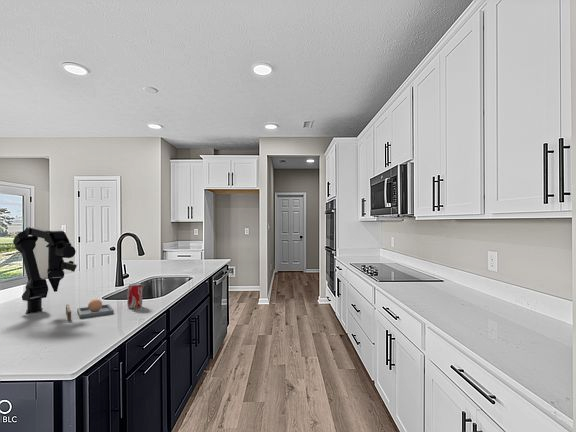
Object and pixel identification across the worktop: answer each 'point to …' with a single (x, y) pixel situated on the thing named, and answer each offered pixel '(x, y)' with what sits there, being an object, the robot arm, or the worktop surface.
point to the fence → (68, 312)
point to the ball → (95, 305)
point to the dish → (87, 313)
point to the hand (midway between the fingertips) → (55, 290)
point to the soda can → (134, 295)
